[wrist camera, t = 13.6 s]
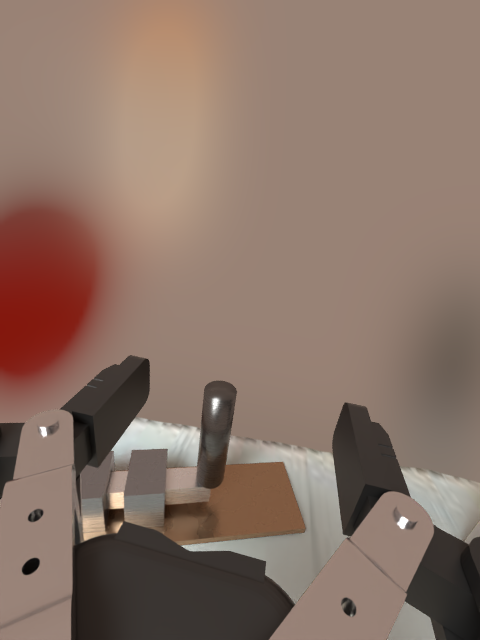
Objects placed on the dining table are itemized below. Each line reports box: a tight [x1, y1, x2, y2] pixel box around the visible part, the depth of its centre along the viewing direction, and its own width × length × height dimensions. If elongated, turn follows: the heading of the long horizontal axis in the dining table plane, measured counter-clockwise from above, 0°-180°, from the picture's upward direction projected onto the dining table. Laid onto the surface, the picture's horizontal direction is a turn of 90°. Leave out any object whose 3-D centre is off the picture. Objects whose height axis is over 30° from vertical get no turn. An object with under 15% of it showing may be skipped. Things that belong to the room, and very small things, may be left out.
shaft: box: [105, 381, 237, 509], centre depth 31 cm, size 17×3×15 cm, turn 99°
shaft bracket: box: [80, 449, 306, 545], centre depth 35 cm, size 28×9×6 cm, turn 99°
